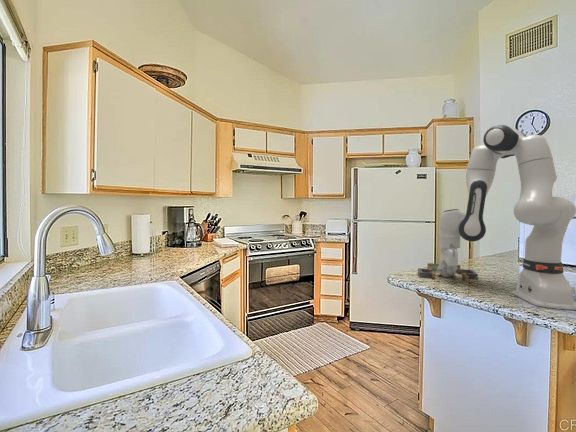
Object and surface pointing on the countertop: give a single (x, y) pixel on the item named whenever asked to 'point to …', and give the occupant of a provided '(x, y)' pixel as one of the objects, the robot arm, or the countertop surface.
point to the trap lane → (433, 267)
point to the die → (442, 270)
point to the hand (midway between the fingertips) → (448, 272)
